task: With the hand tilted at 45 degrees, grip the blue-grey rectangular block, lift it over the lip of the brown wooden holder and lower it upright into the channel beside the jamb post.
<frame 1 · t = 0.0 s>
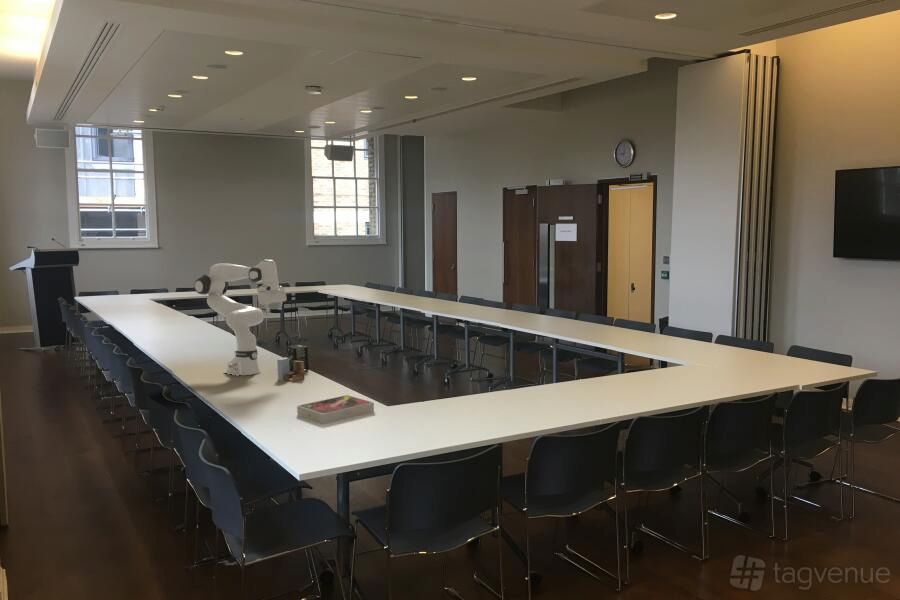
hand: (274, 310, 416), 39 cm above the table, tool pointing down, fingers open, 8 cm apart
tampon box: (298, 370, 438), on the table
brown wooden holder: (294, 379, 410), on the table
blue-grey rectangular block: (284, 379, 412), on the table
product packaging: (335, 414, 336), on the table
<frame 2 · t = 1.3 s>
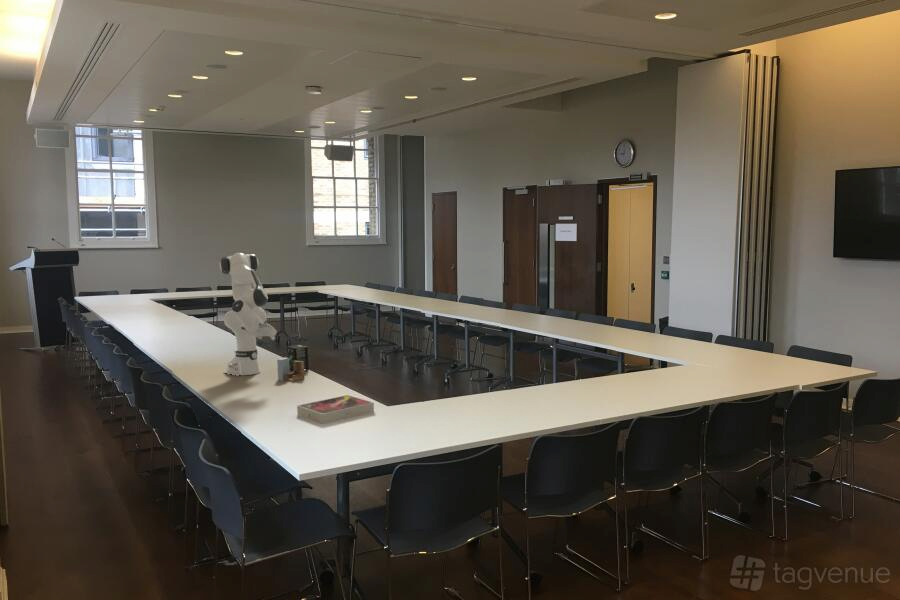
hand: (267, 338, 399), 25 cm above the table, tool tilted 45°, fingers open, 8 cm apart
nothing on the table moved.
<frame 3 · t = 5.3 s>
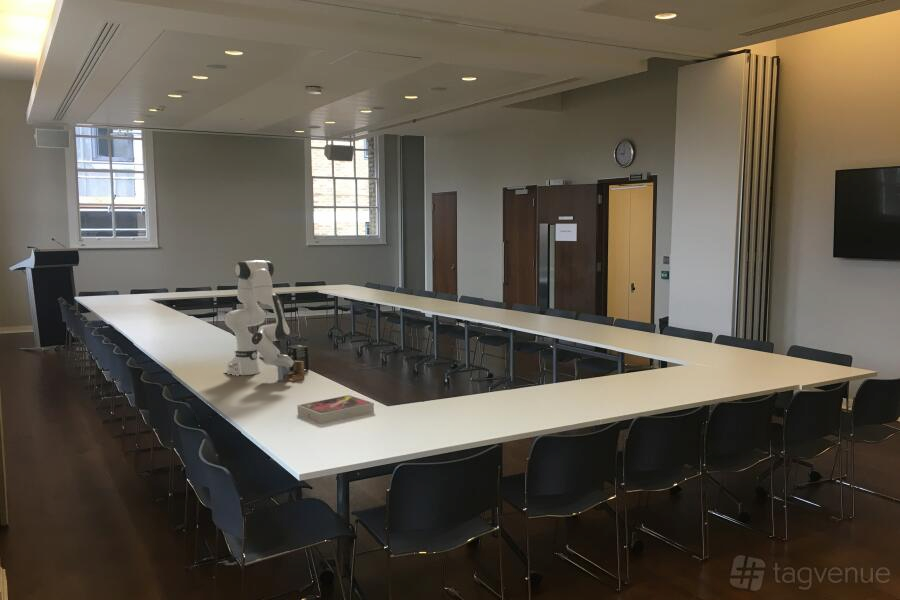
hand: (284, 368, 412), 6 cm above the table, tool tilted 45°, fingers closed on blue-grey rectangular block, 3 cm apart
blue-grey rectangular block: (284, 379, 412), on the table, touching gripper
everything else where it was.
when the fingers open (9 cm above the table, at t = 9.9 s): blue-grey rectangular block drops 1 cm, resting on brown wooden holder.
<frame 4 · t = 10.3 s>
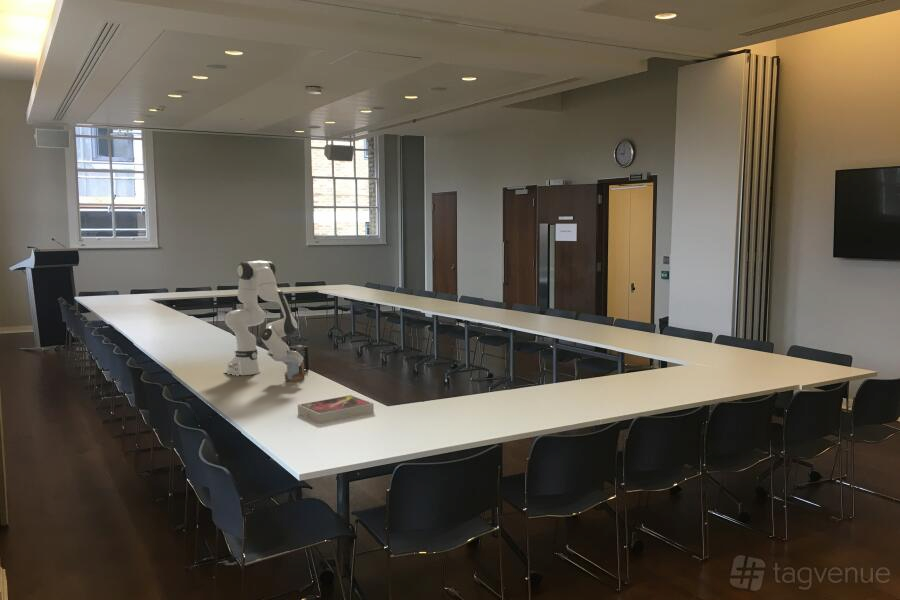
hand: (293, 364, 409), 9 cm above the table, tool tilted 45°, fingers open, 7 cm apart
blue-grey rectangular block: (293, 378, 409), point 1 cm above the table, touching brown wooden holder
everything else where it was.
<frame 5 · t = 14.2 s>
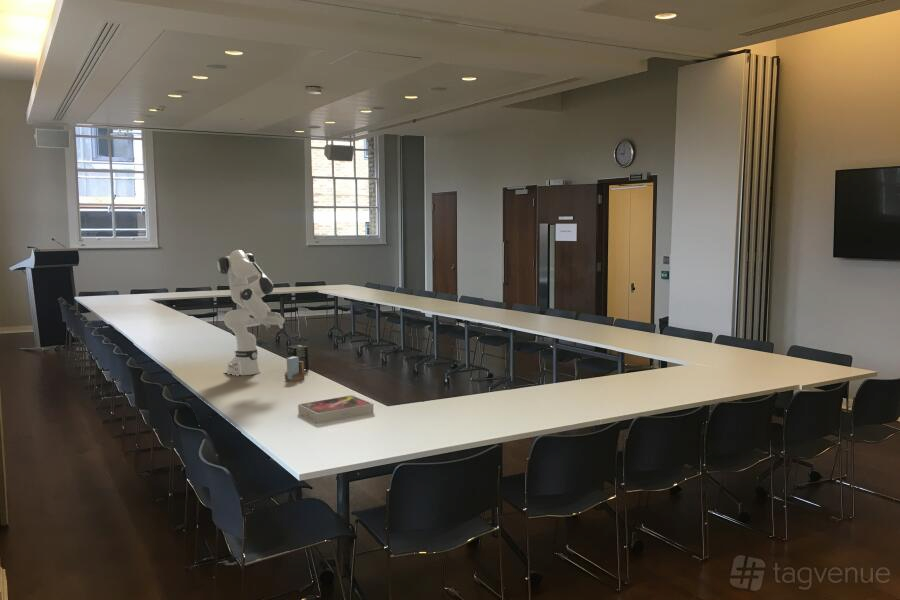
hand: (275, 327, 402), 31 cm above the table, tool tilted 45°, fingers open, 8 cm apart
at the end: blue-grey rectangular block inside the target area on the brown wooden holder (0.3 cm from its centre), point 1.0 cm above the brown wooden holder's base; blue-grey rectangular block tilted 0°; the gripper is holding nothing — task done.
